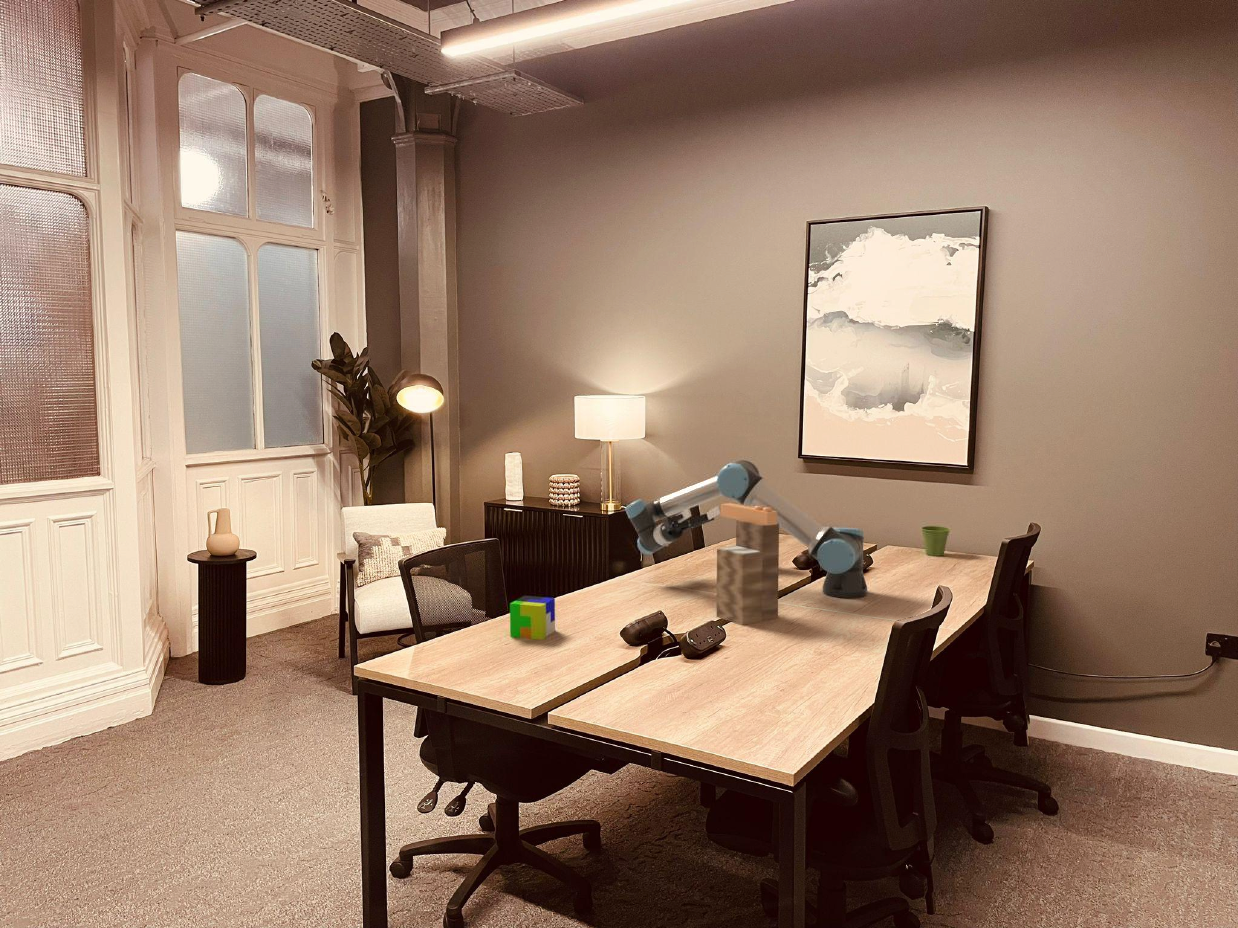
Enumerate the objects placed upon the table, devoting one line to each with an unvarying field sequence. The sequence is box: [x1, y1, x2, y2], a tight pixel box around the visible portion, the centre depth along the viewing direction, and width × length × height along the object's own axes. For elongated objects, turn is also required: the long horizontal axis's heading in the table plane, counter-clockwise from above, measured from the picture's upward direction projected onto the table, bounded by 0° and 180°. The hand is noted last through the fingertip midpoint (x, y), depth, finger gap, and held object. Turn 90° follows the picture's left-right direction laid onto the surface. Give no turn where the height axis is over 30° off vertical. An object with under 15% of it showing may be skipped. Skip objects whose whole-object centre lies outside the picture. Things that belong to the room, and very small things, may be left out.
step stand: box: [716, 519, 780, 626], centre depth 291 cm, size 12×15×30 cm
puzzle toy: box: [509, 595, 556, 641], centre depth 275 cm, size 10×10×10 cm
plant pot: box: [920, 525, 951, 557], centre depth 387 cm, size 12×12×11 cm
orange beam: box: [720, 502, 777, 525], centre depth 295 cm, size 22×4×5 cm, turn 34°
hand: (705, 510), depth 312 cm, fingers open, 13 cm apart
